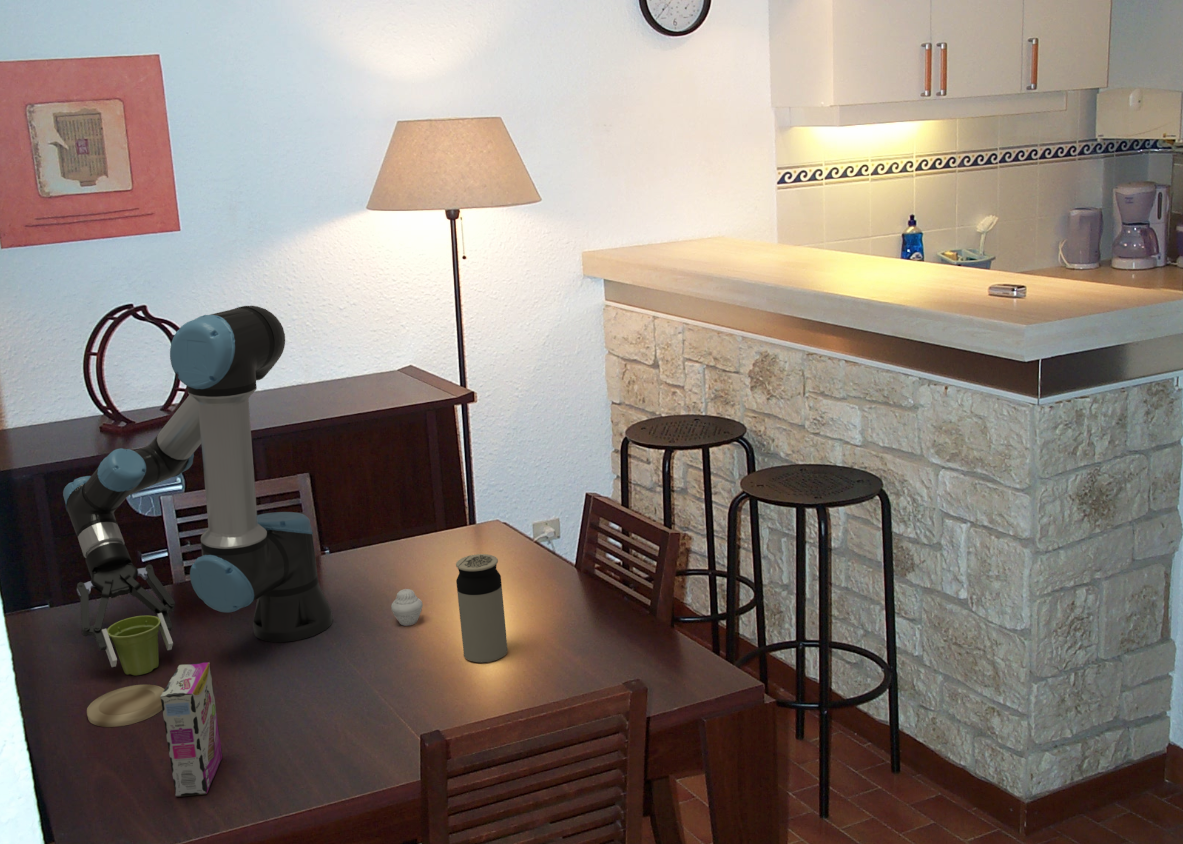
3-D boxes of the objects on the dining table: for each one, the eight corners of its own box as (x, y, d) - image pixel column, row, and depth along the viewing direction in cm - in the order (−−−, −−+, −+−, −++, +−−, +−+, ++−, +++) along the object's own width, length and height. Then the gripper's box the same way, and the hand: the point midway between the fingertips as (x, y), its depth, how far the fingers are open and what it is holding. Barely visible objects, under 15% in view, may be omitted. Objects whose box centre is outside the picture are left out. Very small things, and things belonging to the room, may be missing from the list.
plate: (181, 691, 211) (180, 684, 210) (143, 727, 198) (142, 720, 198) (114, 690, 213) (112, 683, 212) (72, 726, 200) (71, 719, 200)
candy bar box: (209, 795, 176) (193, 693, 172) (175, 798, 176) (157, 697, 172) (225, 756, 187) (210, 660, 183) (193, 759, 187) (177, 663, 183)
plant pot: (117, 685, 215) (109, 640, 213) (111, 666, 223) (103, 623, 221) (171, 671, 219) (164, 627, 217) (163, 653, 227) (156, 611, 225)
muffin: (386, 627, 232) (383, 593, 230) (403, 614, 237) (399, 582, 236) (414, 630, 229) (410, 596, 228) (430, 617, 235) (426, 584, 233)
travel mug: (515, 647, 219) (507, 555, 214) (494, 666, 212) (485, 571, 207) (478, 642, 222) (468, 551, 218) (455, 660, 215) (446, 567, 211)
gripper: (161, 546, 235) (199, 645, 226) (42, 576, 223) (78, 682, 214) (165, 527, 230) (204, 628, 221) (44, 557, 217) (80, 665, 209)
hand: (142, 655), depth 217 cm, fingers closed on plant pot, 9 cm apart
